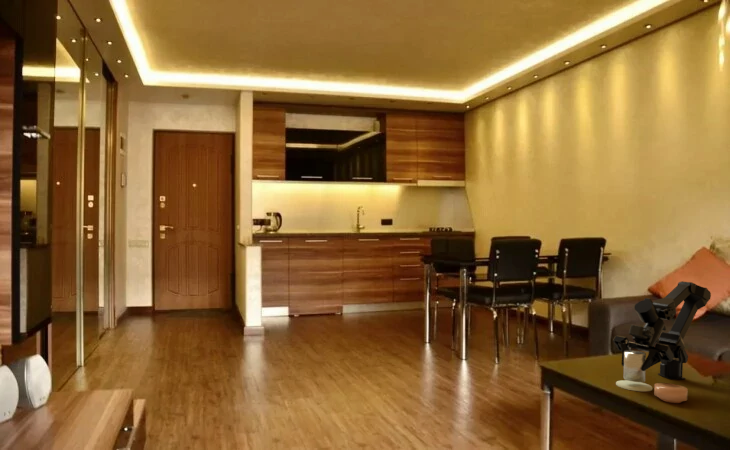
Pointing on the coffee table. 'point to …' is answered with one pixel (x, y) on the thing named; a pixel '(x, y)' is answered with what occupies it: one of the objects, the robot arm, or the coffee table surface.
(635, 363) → the frosted glass jar
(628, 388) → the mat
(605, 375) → the coffee table surface
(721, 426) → the coffee table surface
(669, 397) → the bowl
